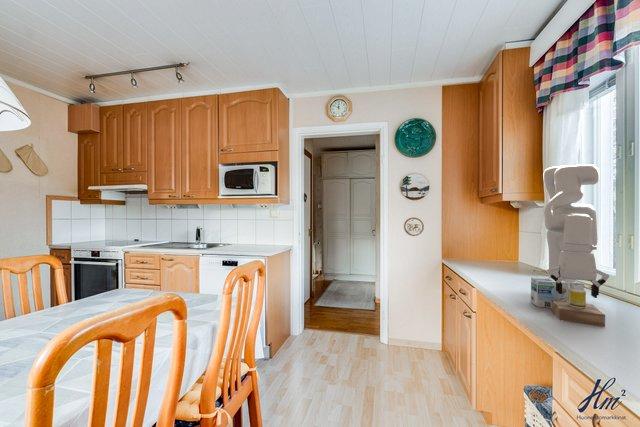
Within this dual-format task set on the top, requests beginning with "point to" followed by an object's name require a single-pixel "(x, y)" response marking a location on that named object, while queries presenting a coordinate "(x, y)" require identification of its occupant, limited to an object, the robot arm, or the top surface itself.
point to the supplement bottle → (577, 295)
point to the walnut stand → (578, 313)
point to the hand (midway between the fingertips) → (576, 295)
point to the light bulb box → (547, 292)
